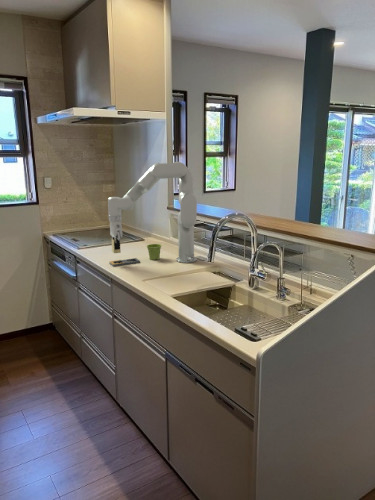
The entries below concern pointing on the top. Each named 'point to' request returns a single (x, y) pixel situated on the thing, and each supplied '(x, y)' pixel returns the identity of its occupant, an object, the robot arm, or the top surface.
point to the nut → (114, 247)
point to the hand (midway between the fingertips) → (116, 248)
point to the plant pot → (154, 251)
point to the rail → (124, 262)
